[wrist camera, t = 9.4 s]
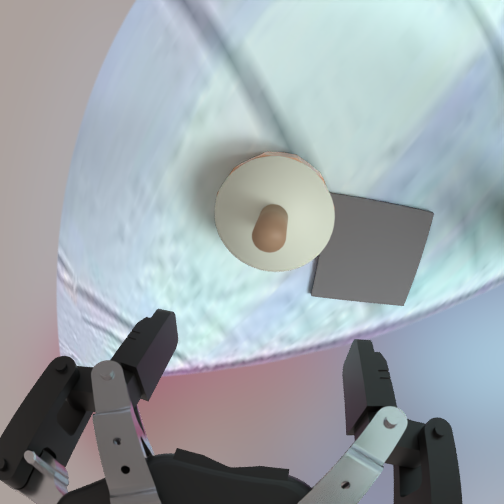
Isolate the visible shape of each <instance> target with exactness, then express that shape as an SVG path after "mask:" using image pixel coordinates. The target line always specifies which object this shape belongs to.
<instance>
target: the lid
mask: <svg viewBox="0 0 504 504" xmlns="http://www.w3.org/2000/svg"><path fill="white" fill-rule="evenodd" d="M214 214H215V223H216V228H217V231H218V234H219V236H220V238H221V240H222V241H223V243H224V245H225V246H226V247H227V249H228V250H229V251H230V252H231V253H232V254H233V255H234V256H235V257H236V258H238V259H239V260H240V261H242V262H244V263H245V264H247V265H249V266H251V267H254V268H257V269H260V270H264V271H272V272H282V271H289V270H293V269H296V268H299V267H301V266H304V265H305V264H307V263H309V262H310V261H312V260H313V259H314V258H316V257H317V256H318V255H319V254H320V253H321V252H322V250H323V249H324V248H325V246H326V245H327V243H328V241H329V239H330V237H331V234H332V231H333V227H334V220H335V211H334V205H333V201H332V198H331V195H330V193H329V191H328V189H327V187H326V185H325V183H324V182H323V180H322V179H321V178H320V177H319V176H318V175H317V173H315V172H314V171H313V170H312V169H311V168H309V167H308V166H306V165H305V164H303V163H301V162H299V161H297V160H294V159H291V158H287V157H281V156H266V157H260V158H256V159H254V160H251V161H248V162H247V163H245V164H243V165H241V166H240V167H239V168H237V169H236V170H235V171H233V172H232V173H231V174H230V175H229V176H228V177H227V179H226V180H225V181H224V183H223V184H222V186H221V188H220V190H219V192H218V195H217V198H216V202H215V210H214Z"/></svg>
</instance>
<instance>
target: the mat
mask: <svg viewBox="0 0 504 504" xmlns="http://www.w3.org/2000/svg"><path fill="white" fill-rule="evenodd" d="M330 195H331V198H332V201H333V204H334V207H335V209H334V211H335V220H334V227H333V231H332V234H331V237H330V239H329V241H328V243H327V245H326V246H325V248H324V249H323V250H322V252H321V253H320V254H319V258H318V263H317V268H316V273H315V278H314V283H313V288H312V292H311V296H314V297H323V298H331V299H340V300H349V301H359V302H368V303H378V304H389V305H400V306H404V303H405V301H406V298H407V296H408V293H409V291H410V288H411V285H412V283H413V280H414V277H415V274H416V271H417V269H418V266H419V263H420V260H421V257H422V253H423V250H424V247H425V244H426V240H427V237H428V233H429V230H430V226H431V222H432V219H433V215H434V213H433V212H430V211H425V210H421V209H416V208H412V207H407V206H402V205H397V204H392V203H387V202H382V201H376V200H371V199H365V198H360V197H354V196H348V195H342V194H335V193H330Z"/></svg>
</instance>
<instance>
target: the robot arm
mask: <svg viewBox="0 0 504 504" xmlns="http://www.w3.org/2000/svg"><path fill="white" fill-rule="evenodd" d="M177 343H178V333H177V325H176V317H175V313H174V312H171V311H167V310H162V309H157V310H156V312H155V313H154V314H153V316H152V317H151V318H148V317H146V318H144V319H143V320H141V321H139V322H138V323H137V324H136V325H135V327H134V328H133V329H132V332H130V334H129V335H128V336H127V338H126V339H125V340H124V342H123V343H122V345H121V346H120V347H119V349H118V350H117V351H116V353H115V354H114V356H113V357H112V358H111V360H107V361H102V362H100V363H98V364H96V365H95V366H94V367H82V366H76V364H75V362H74V360H73V359H72V358H70V357H68V356H60V357H57V358H55V359H54V360H53V361H52V362H51V363H50V364H49V365H48V367H47V368H46V370H45V371H44V372H43V374H42V375H41V376H40V378H39V379H38V381H37V382H36V383H35V385H34V386H33V388H32V389H31V391H30V392H29V393H28V395H27V396H26V398H25V399H24V401H23V402H22V404H21V405H20V407H19V408H18V410H17V411H16V413H15V415H14V416H13V418H12V419H11V421H10V423H9V424H8V426H7V427H6V429H5V431H4V432H3V434H2V436H1V438H0V480H1V481H3V482H4V483H5V484H7V485H8V486H9V487H10V488H12V489H14V490H16V491H17V492H19V493H20V494H22V495H24V496H26V497H28V498H29V499H31V500H32V501H33V502H35V503H36V504H357V503H358V502H359V501H360V500H361V498H362V497H363V496H364V495H365V494H366V492H367V491H368V490H369V488H370V487H371V485H372V484H373V483H374V482H375V480H376V479H377V478H378V476H379V475H380V473H381V472H382V470H383V468H384V467H383V464H384V463H387V464H392V465H393V466H394V504H462V493H461V483H460V474H459V466H458V460H457V454H456V448H455V443H454V438H453V432H452V428H451V426H450V424H449V423H448V422H447V421H446V420H444V419H442V418H433V419H431V420H429V421H428V422H427V423H426V424H424V423H420V422H415V421H411V420H409V419H407V417H406V415H405V414H404V412H403V411H402V410H400V409H399V408H397V405H396V400H395V395H394V391H393V386H392V382H391V379H390V373H389V372H388V370H389V369H388V365H387V362H386V360H385V358H384V357H383V356H382V354H381V353H380V352H374V349H373V345H372V342H371V340H359V339H355V340H354V341H353V343H352V345H351V348H350V350H349V353H348V355H347V357H346V360H345V363H344V366H343V386H344V398H345V399H344V400H345V416H346V435H354V436H355V442H354V443H353V444H352V445H351V446H350V448H349V449H348V450H347V451H346V452H345V454H344V455H343V456H342V457H341V458H340V459H339V460H338V462H337V463H336V464H335V465H334V466H333V467H332V468H331V469H330V470H329V471H328V472H327V473H326V475H325V476H324V477H323V478H322V479H321V480H320V481H319V482H318V483H317V484H316V485H315V486H314V487H313V488H311V487H310V486H309V485H307V484H306V483H305V482H303V481H301V480H299V479H298V478H295V477H293V476H290V475H288V474H289V469H281V468H272V467H264V466H256V467H238V468H237V467H236V468H231V467H228V466H225V465H223V464H221V463H219V462H216V461H214V460H212V459H210V458H208V457H206V456H204V455H201V454H196V453H193V452H189V451H186V450H182V449H178V448H177V449H176V452H175V454H172V453H170V454H159V455H155V454H154V452H153V449H152V447H151V445H150V443H149V440H148V438H147V435H146V431H145V429H144V425H143V423H142V419H141V415H140V412H139V409H138V406H137V404H138V402H139V400H140V398H141V399H143V400H146V401H149V399H150V397H151V395H152V393H153V391H154V389H155V388H156V386H157V384H158V382H159V380H160V378H161V376H162V374H163V372H164V370H165V368H166V366H167V364H168V363H169V361H170V359H171V357H172V355H173V353H174V351H175V349H176V347H177ZM93 412H96V414H93V424H94V430H95V435H96V440H97V445H98V450H99V454H100V459H101V463H102V467H103V471H104V474H105V478H104V479H101V480H99V481H96V482H94V483H92V484H89V485H86V486H84V487H82V488H78V489H76V490H73V491H70V492H68V490H67V486H68V485H69V480H68V478H69V477H68V472H67V470H66V468H65V467H66V465H67V463H68V461H69V459H70V456H71V454H72V452H73V450H74V448H75V446H76V444H77V442H78V440H79V438H80V436H81V434H82V432H83V430H84V428H85V427H86V425H87V423H88V421H89V419H90V417H91V415H92V413H93Z"/></svg>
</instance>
